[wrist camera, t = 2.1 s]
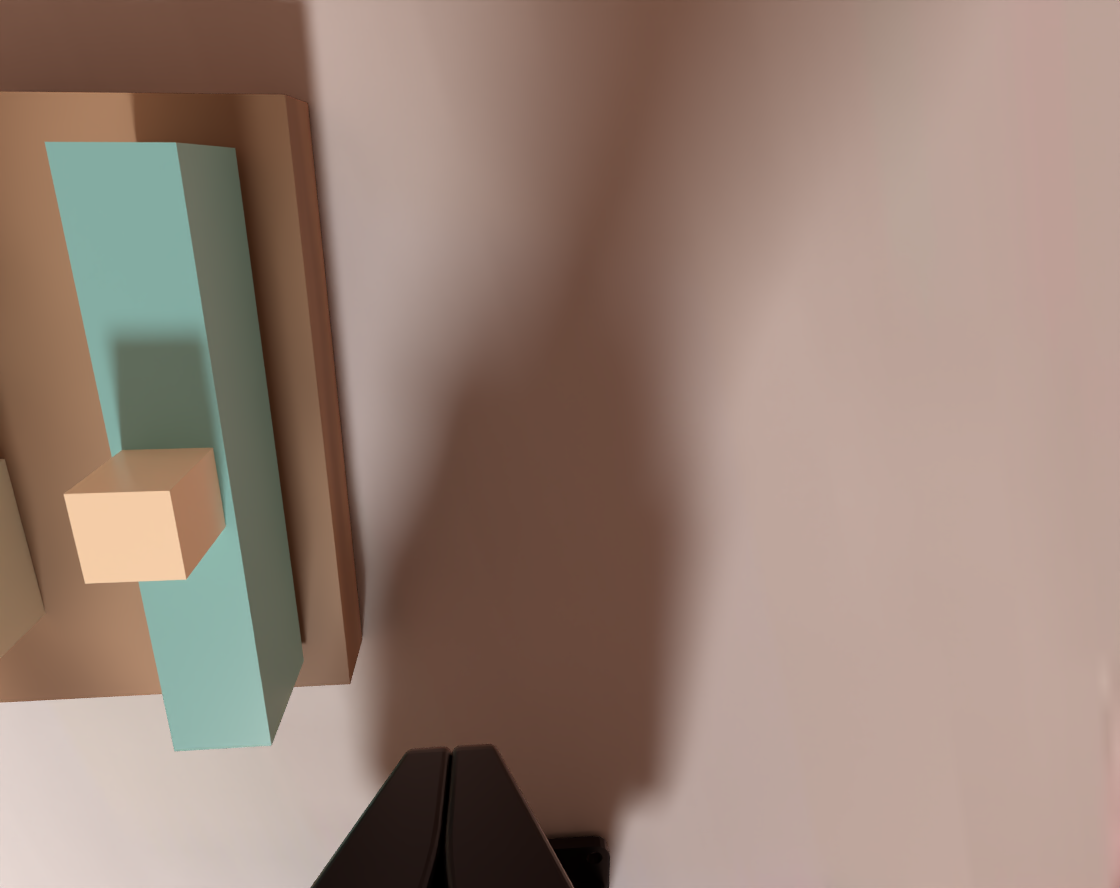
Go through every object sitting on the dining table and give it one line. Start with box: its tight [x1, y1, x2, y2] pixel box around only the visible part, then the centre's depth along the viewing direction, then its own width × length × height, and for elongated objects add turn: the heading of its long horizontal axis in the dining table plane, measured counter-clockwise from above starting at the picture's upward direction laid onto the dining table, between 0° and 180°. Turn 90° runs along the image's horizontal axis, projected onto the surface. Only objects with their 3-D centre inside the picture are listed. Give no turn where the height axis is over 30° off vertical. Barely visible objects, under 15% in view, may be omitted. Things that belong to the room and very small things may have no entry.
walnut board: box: [0, 91, 362, 702], centre depth 18 cm, size 14×14×2 cm
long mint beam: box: [45, 142, 304, 751], centre depth 15 cm, size 2×12×5 cm, turn 0°
